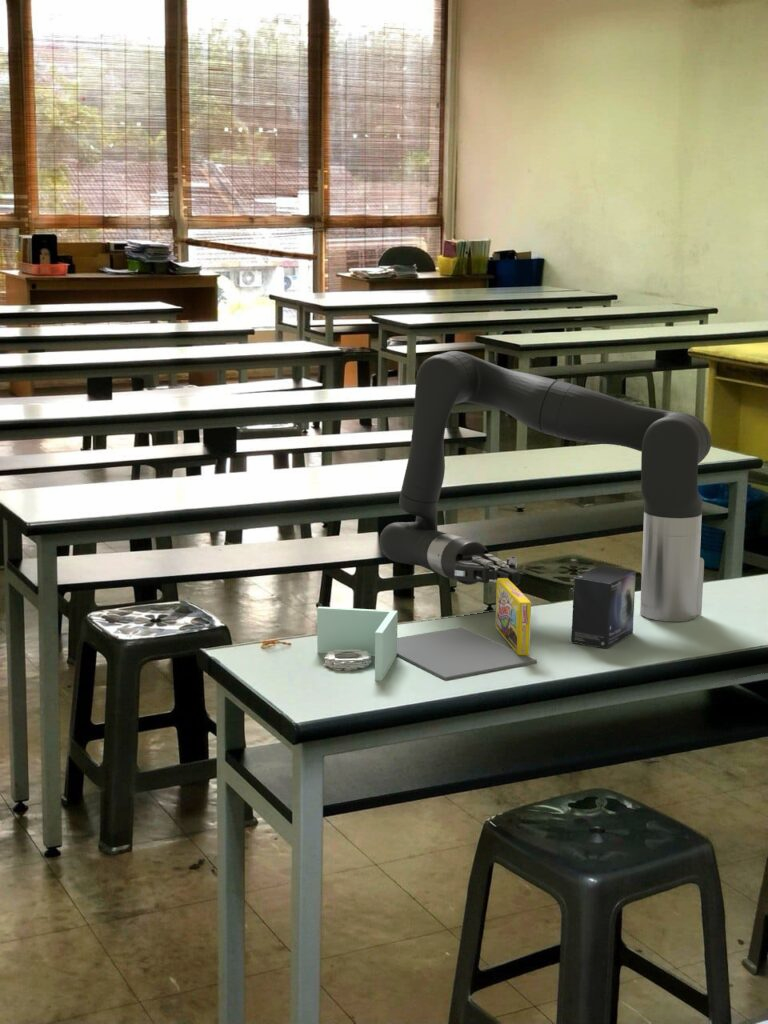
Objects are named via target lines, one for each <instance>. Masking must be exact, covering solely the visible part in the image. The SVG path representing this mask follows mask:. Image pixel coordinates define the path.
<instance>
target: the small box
mask: <svg viewBox="0 0 768 1024" xmlns="http://www.w3.org/2000/svg"><path fill="white" fill-rule="evenodd" d="M636 573H637V570H633V569H626V568H621V567H615V566H610V565H605V564H600V565H599V566H596V567H593V568H592V569H590V570H587V571H585V572H583V573H581V574H579V575H576V576H574V578H573V595H572V596H573V597H572V620H571V633H570V634H571V635H570V643H572V644H574V643H575V644H580V645H585V646H591V647H596V648H601V649H608V648H610V647H611V646H614V645H615V644H617V643H618V642H620V641H622V640H623V639H626V638H627V637H629V636H631V635H632V634H634V619H635V618H634V615H635V598H636V597H635V596H636V595H635V593H636V575H637V574H636Z"/></svg>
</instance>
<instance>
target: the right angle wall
mask: <svg viewBox="0 0 768 1024" xmlns="http://www.w3.org/2000/svg"><path fill="white" fill-rule="evenodd" d="M316 610H317V611H316V613H317V614H316V616H317V617H316V618H317V619H316V620H317V624H316V627H317V628H316V629H317V631H316V633H317V637H316V638H317V639H316V641H317V645H316V646H317V653H318V654H325V655H324V656H325V657H323V659H324V663H323V664H322V665H324V666H325V667H328V668H330V669H333V670H335V671H338V672H339V671H344V672H349V671H352V670H358V669H365V668H367V667H370V664H371V663H372V660H371V659H372V657H374V681H380V682H381V681H383V680H384V678H385V677H386V675H387V673H388V672H389V670H390V668H391V667H392V665H393V663H394V662H395V660H396V658H397V657H398V656H397V638H398V613H399V612H398V610H391V609H390V610H388V609H386V610H385V609H373V608H372V609H370V608H369V609H367V608H352V607H351V608H350V607H349V608H348V607H336V606H335V607H333V606H317V608H316ZM369 663H370V664H369Z"/></svg>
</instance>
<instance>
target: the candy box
mask: <svg viewBox="0 0 768 1024" xmlns="http://www.w3.org/2000/svg"><path fill="white" fill-rule="evenodd" d="M495 595H496V596H495V628H496V629H497V631H498V632H499V633H500V634H501V636H502V637H503V638H504V639H505V640H506V642H507V643H508V644H509V646H510V647H511V649H513V650H515V651H516V653H517V654H518V655H522V656H529V655H530V644H531V621H532V620H531V616H532V615H531V613H532V602H531V601H530V600H529V599H528V598H527V596H526V595H525V594H524V593H523V592H522V591H521V590H520V589H519V588H518V587H517V585H514V584H513V583H512V582H511V581H510V580H509V579H508V578H497V583H496V594H495Z"/></svg>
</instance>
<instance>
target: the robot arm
mask: <svg viewBox="0 0 768 1024" xmlns="http://www.w3.org/2000/svg"><path fill="white" fill-rule="evenodd" d="M415 381H416V382H415V390H414V391H415V392H414V407H413V410H414V411H413V419H412V430H411V431H412V432H411V441H410V447H409V454H408V460H407V464H406V469H405V472H404V473H405V474H404V477H403V482H402V486H401V490H400V494H399V500H398V505H399V507H400V509H401V510H402V511H404V512H405V513H407V514H410V515H413V516H416V517H415V521H408V522H407V521H406V522H405V521H404V522H403V521H401V522H399V521H396V522H392V523H389V524H388V525H386V526H385V527H384V528H383V530H382V531H381V533H380V536H379V547H380V549H381V551H382V553H383V554H384V556H385V557H386V558H387V559H389V560H391V561H392V562H395V563H400V564H405V565H412V566H419V567H424V568H425V569H427V570H431V571H433V572H436V573H437V574H439V575H441V576H442V577H445V578H447V579H450V580H452V581H455V582H458V583H461V584H463V585H469V586H470V585H475V584H478V583H483V584H488V583H490V582H492V583H496V584H497V578H508V579H509V580H510V581H511V582H512V583H513V584H514V585H515V586H518V585H520V584H521V572H520V571H519V570H517V568H518V567H517V566H518V565H517V564H518V562H517V559H518V557H517V556H514V555H513V556H510V557H509V558H506V560H502V558H500V557H498V556H494V554H492V553H490V552H489V550H488V549H487V547H486V546H485V545H484V544H483V543H481V542H479V541H476V540H472V539H469V538H467V537H463V536H461V535H460V536H459V535H456V534H450V533H446V532H443V531H439V530H438V503H439V499H440V497H441V491H442V487H443V483H444V479H445V472H446V471H445V470H446V461H445V448H444V447H445V445H444V442H445V432H446V427H447V424H448V420H449V418H450V415H451V413H452V410H453V408H454V406H455V405H458V404H461V403H468V404H469V403H470V404H476V405H482V406H485V407H489V408H494V409H498V410H499V411H501V412H502V411H503V412H504V413H506V414H508V415H510V416H511V417H512V418H514V419H516V420H517V421H518V422H520V423H521V424H523V425H525V426H526V427H527V428H528V427H529V428H530V429H532V430H535V431H538V432H541V433H542V434H546V435H550V436H553V437H557V438H559V439H563V440H568V441H573V442H580V443H589V444H590V443H591V444H600V445H610V446H611V445H612V446H613V445H614V446H618V447H619V446H621V447H626V448H629V449H631V450H635V451H638V452H641V457H640V458H641V459H640V461H641V463H640V470H641V471H640V473H641V474H640V476H641V477H640V481H641V482H640V485H641V486H640V488H641V496H642V499H643V503H644V504H643V506H644V508H643V509H644V510H643V511H644V512H643V530H642V531H643V533H642V534H643V535H642V557H641V558H642V559H641V560H642V561H641V581H640V583H641V584H640V606H639V607H640V609H639V611H640V612H639V613H640V614H641V616H643V617H644V618H647V619H652V620H656V621H663V622H686V621H691V620H694V619H696V618H697V616H701V615H702V612H703V611H702V610H703V592H704V591H703V589H704V575H705V574H704V573H705V571H704V570H705V560H704V558H703V557H701V541H702V540H701V537H702V521H703V520H702V517H703V516H702V513H703V498H702V497H701V495H700V492H699V488H698V483H699V482H698V481H699V480H698V476H699V475H698V472H699V464H700V463H701V462H702V461H703V460H705V459H706V457H707V456H708V454H709V452H710V451H711V447H712V435H711V433H710V430H709V428H708V427H707V426H706V424H705V423H704V422H703V421H702V420H700V419H699V418H698V417H697V416H696V415H695V416H694V415H693V414H689V413H685V412H679V411H672V410H665V409H660V408H654V407H649V406H642V405H638V404H634V403H631V402H628V401H625V400H622V399H619V398H617V397H614V396H611V395H609V394H605V393H601V392H599V391H596V390H593V389H589V388H587V387H583V386H580V385H577V384H573V383H570V382H566V381H562V380H558V379H556V378H550V377H545V376H542V375H541V376H540V375H537V374H533V373H527V372H522V371H516V370H513V369H509V368H505V367H503V366H499V365H497V364H495V363H492V362H489V361H487V360H484V359H482V358H479V357H477V356H475V355H473V354H469V353H467V352H463V351H460V350H459V351H457V350H454V351H453V350H451V351H447V352H442V353H440V354H436V355H432V356H431V357H428V358H426V359H424V360H423V362H422V364H420V366H419V368H418V372H417V375H416V379H415Z"/></svg>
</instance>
